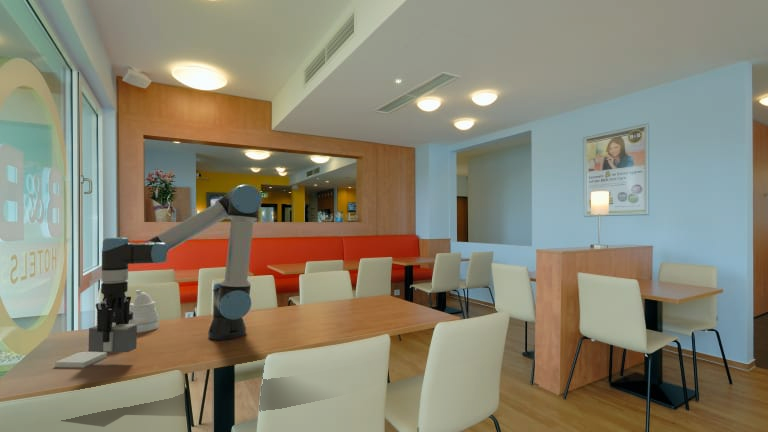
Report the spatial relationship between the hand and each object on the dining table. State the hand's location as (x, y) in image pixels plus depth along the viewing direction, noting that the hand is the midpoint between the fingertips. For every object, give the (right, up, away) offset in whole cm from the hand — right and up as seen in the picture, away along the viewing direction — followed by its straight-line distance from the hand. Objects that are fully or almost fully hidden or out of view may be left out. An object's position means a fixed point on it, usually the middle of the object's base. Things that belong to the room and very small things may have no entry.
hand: (113, 348), depth 128 cm
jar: (-12, -5, +20) cm, 24 cm away
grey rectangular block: (0, 0, 0) cm, 0 cm away
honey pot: (-17, -6, +42) cm, 45 cm away
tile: (-6, -4, 0) cm, 7 cm away
